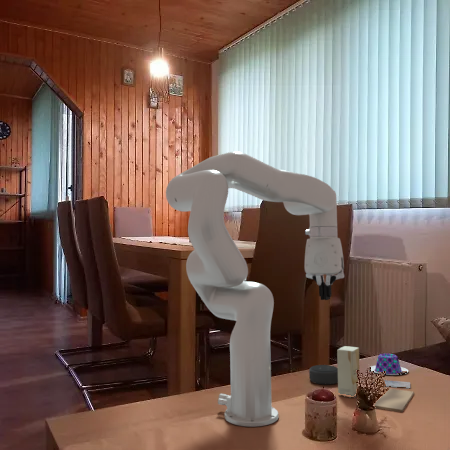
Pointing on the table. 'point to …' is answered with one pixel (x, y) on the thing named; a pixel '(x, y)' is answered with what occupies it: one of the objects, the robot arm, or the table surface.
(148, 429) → the table surface
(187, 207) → the robot arm
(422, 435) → the table surface
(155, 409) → the table surface
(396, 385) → the trowel prop
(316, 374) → the smart speaker
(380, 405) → the beige flat slab
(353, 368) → the skincare box
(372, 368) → the pudding
